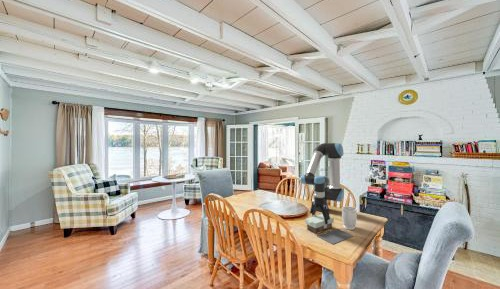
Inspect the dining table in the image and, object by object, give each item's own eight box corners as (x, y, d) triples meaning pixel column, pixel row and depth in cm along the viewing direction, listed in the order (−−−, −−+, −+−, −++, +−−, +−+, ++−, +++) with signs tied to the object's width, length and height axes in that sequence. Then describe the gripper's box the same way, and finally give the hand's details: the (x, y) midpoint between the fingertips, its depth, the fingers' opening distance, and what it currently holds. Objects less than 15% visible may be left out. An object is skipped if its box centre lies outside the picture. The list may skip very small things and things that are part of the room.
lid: (323, 218, 166) (323, 213, 166) (333, 222, 157) (333, 217, 157) (303, 224, 155) (303, 219, 155) (313, 228, 147) (313, 224, 146)
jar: (344, 223, 166) (344, 205, 165) (358, 227, 159) (358, 207, 159) (340, 228, 157) (340, 209, 157) (354, 232, 151) (355, 211, 150)
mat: (337, 229, 156) (337, 228, 156) (353, 236, 145) (353, 235, 145) (317, 236, 145) (317, 235, 145) (332, 244, 134) (332, 244, 134)
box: (323, 224, 165) (323, 215, 165) (331, 228, 158) (331, 219, 158) (307, 229, 156) (307, 220, 156) (315, 233, 149) (315, 224, 149)
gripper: (305, 193, 164) (305, 221, 165) (328, 201, 144) (328, 232, 145) (311, 192, 168) (311, 219, 168) (335, 199, 148) (335, 229, 149)
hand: (319, 225), depth 157 cm, fingers closed on lid, 10 cm apart
